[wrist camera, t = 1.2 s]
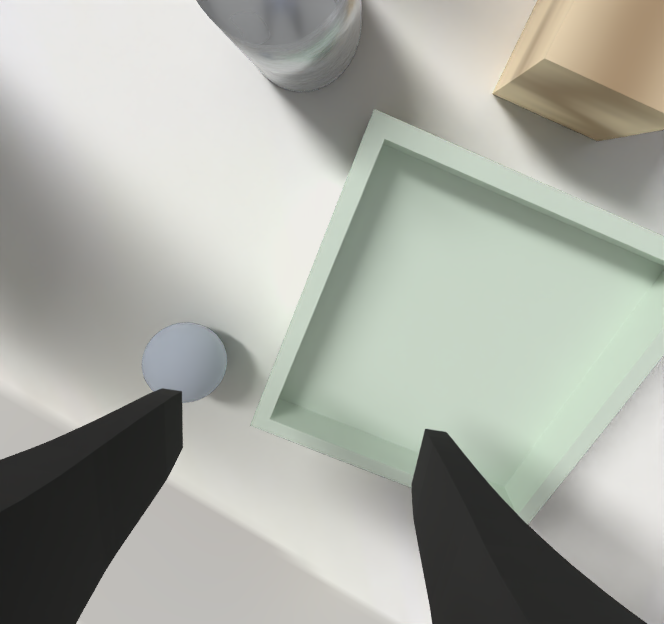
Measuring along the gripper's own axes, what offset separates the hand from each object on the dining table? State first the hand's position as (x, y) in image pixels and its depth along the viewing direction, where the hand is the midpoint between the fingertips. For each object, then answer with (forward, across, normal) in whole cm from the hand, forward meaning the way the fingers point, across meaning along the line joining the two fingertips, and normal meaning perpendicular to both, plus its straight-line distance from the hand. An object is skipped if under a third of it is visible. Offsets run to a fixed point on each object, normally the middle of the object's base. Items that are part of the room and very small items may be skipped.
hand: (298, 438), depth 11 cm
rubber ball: (+9, +7, +2) cm, 12 cm away
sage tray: (+9, -6, 0) cm, 11 cm away
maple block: (+10, -9, -13) cm, 18 cm away
